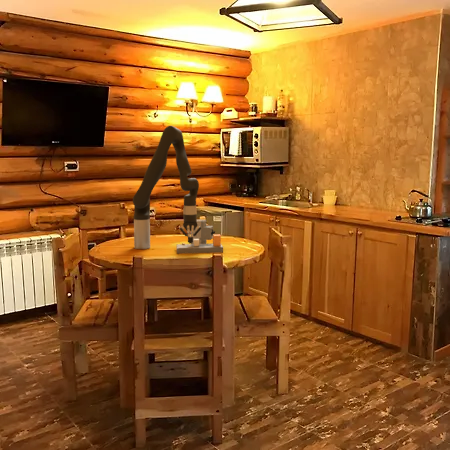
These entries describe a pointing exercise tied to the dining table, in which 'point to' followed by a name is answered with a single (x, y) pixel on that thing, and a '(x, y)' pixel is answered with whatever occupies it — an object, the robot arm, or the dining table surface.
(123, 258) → the dining table surface
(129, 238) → the dining table surface
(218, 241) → the cap
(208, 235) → the circuit breaker
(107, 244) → the dining table surface
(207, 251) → the breaker panel
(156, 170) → the robot arm
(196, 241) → the switch
